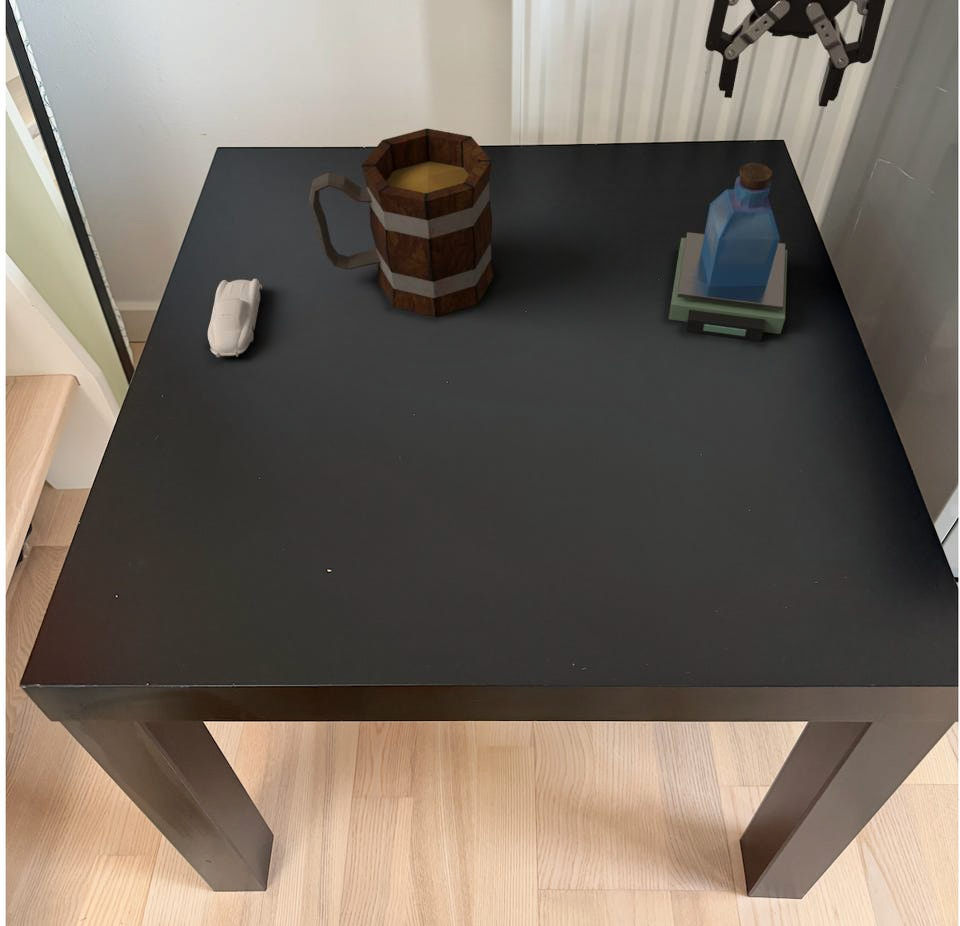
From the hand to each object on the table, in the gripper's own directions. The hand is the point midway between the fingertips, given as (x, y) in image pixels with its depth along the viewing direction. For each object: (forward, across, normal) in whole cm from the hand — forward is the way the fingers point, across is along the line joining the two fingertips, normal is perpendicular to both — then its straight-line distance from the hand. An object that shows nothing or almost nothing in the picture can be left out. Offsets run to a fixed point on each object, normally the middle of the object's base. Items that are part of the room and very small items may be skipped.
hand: (775, 98), depth 84 cm
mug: (+23, -36, -5) cm, 43 cm away
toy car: (+23, -53, -16) cm, 60 cm away
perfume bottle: (+20, 0, 0) cm, 20 cm away
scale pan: (+21, 0, 0) cm, 21 cm away
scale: (+23, 0, 0) cm, 23 cm away
